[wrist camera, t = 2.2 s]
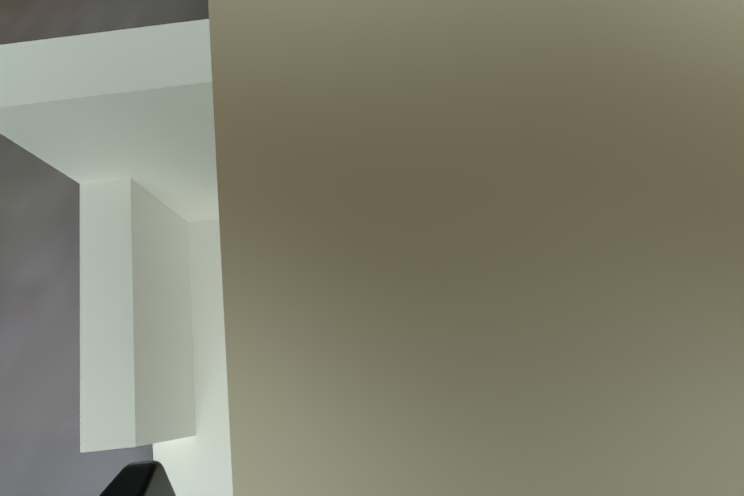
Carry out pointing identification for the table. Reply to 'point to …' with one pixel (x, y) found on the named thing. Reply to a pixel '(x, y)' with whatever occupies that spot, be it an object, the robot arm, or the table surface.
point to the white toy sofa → (138, 234)
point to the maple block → (482, 246)
